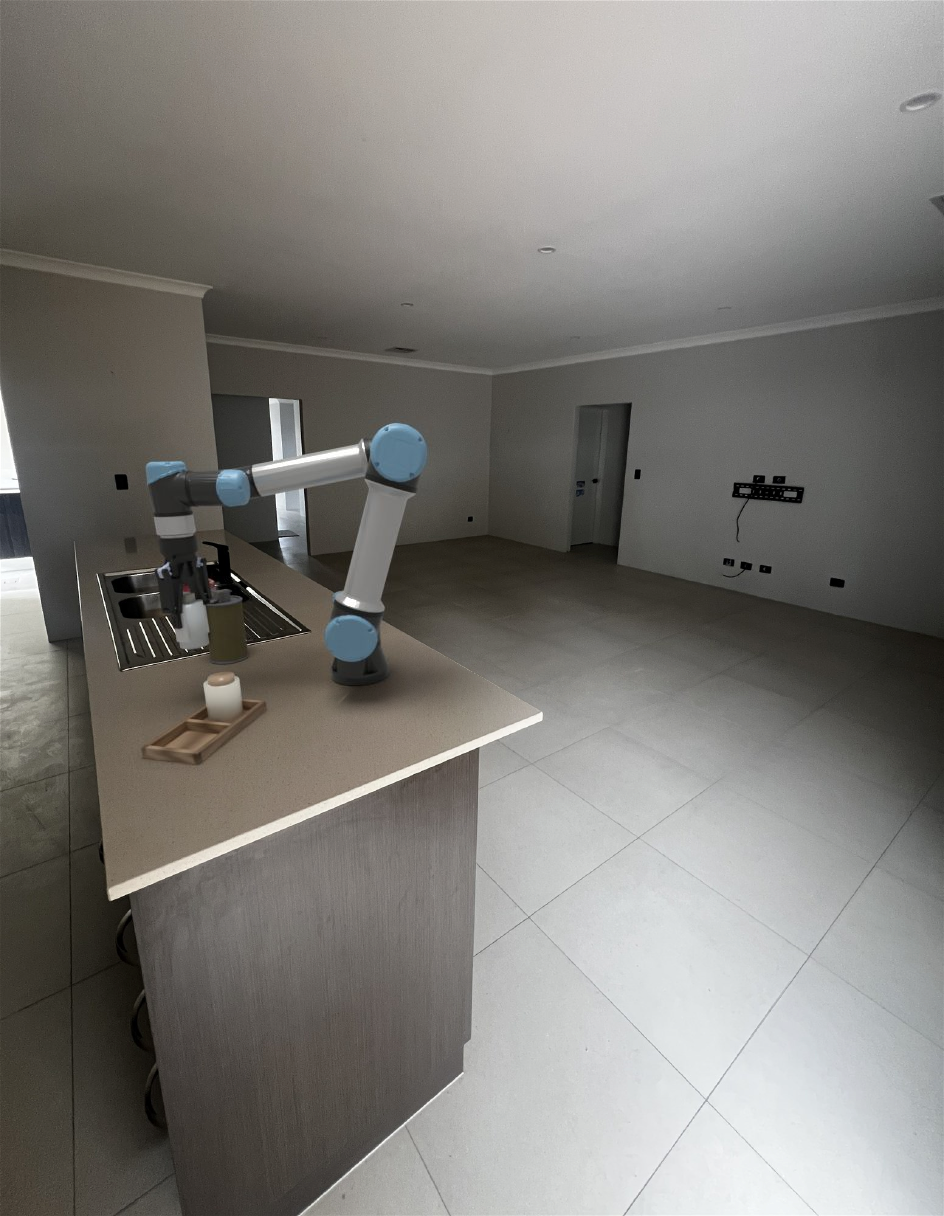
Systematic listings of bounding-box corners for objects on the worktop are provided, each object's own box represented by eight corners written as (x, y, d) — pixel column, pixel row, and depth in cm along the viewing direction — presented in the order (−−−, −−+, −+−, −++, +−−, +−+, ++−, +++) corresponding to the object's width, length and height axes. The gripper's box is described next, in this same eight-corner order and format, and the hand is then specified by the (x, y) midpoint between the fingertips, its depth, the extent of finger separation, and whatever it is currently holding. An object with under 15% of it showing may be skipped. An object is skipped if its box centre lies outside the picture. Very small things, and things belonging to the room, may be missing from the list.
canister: (237, 649, 163) (229, 584, 158) (255, 657, 157) (248, 590, 151) (201, 659, 155) (191, 591, 149) (219, 667, 149) (209, 597, 143)
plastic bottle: (215, 640, 125) (207, 590, 122) (197, 649, 120) (189, 597, 117) (192, 639, 127) (183, 590, 123) (174, 648, 121) (164, 596, 118)
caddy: (267, 713, 122) (265, 701, 122) (199, 768, 101) (197, 754, 100) (219, 708, 125) (218, 696, 124) (143, 761, 103) (141, 747, 102)
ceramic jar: (250, 713, 120) (245, 671, 117) (231, 728, 114) (225, 684, 111) (222, 711, 122) (216, 669, 119) (201, 725, 115) (195, 681, 112)
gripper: (191, 529, 126) (206, 623, 132) (126, 541, 108) (147, 650, 114) (220, 529, 125) (233, 624, 131) (159, 542, 107) (178, 652, 113)
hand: (193, 636), depth 123 cm, fingers closed on plastic bottle, 6 cm apart
